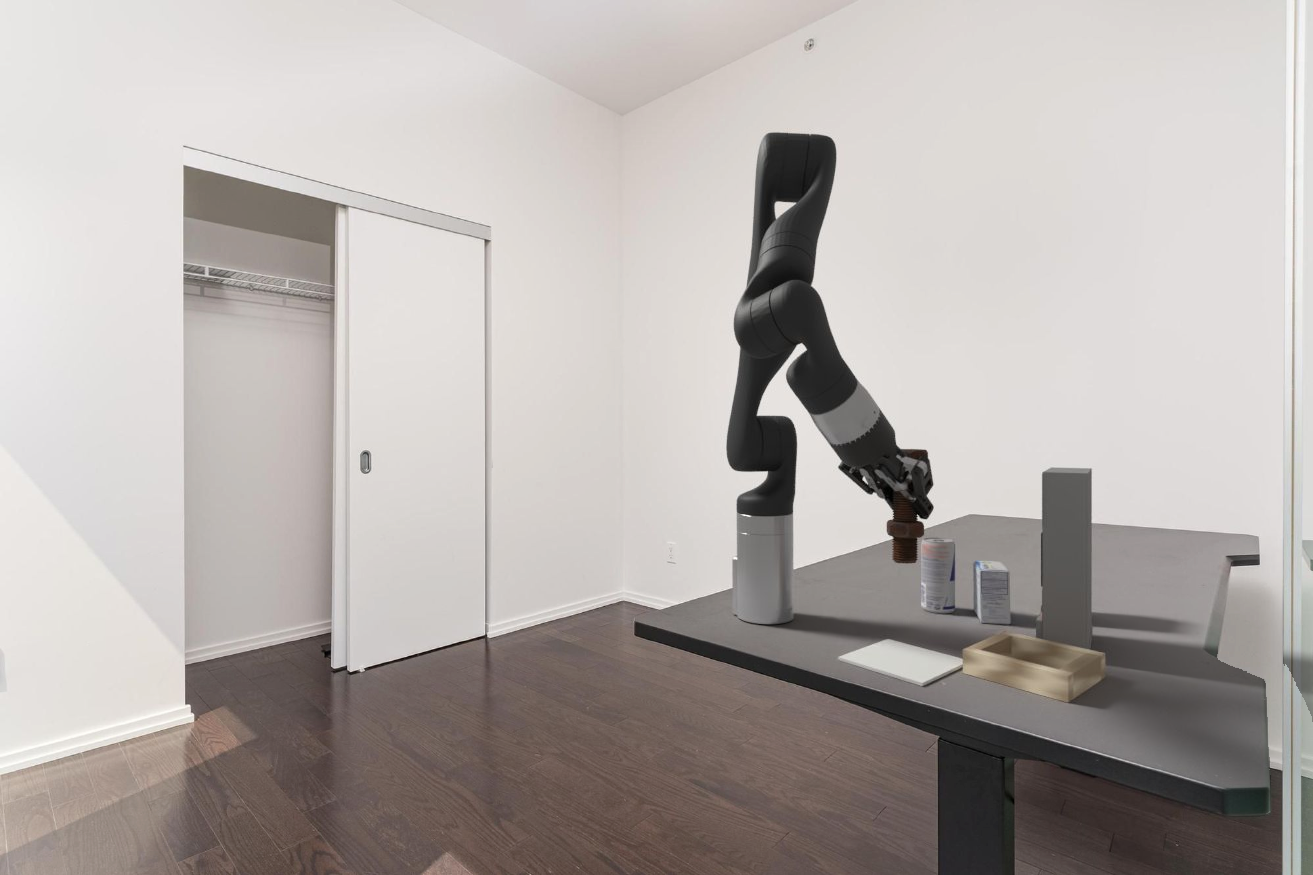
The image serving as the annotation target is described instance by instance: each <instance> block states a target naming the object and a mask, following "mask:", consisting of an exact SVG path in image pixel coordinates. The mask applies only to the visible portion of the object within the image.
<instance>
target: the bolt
mask: <svg viewBox="0 0 1313 875" xmlns="http://www.w3.org/2000/svg"><path fill="white" fill-rule="evenodd" d="M900 449H901V450H903V451H904V452H905V453H906V455H907V457H909V458H912V459H915V460H919V458H920V457H921V456H925V457H927V458H928V459H929V453H928V452H929V451H928V450H927V449H919V448H900ZM898 481H899V480H898ZM912 487H913V486H912V485H911V484H910V483H909V484H908V489H909V490H911V488H912ZM893 492H894V493H893V495H894V496H893V497H894V498H893V500H894V501H892V502H894V503H893V505H894V506H892V507H893V510H894V511H893V510H892V519H889V520H887V521H886V533H887V535H888V536H889V537H892V539H891V540H892V544H891V545H892V549H891V550H892V554H891V555H892V556H891V557H892V561H894V562H895V563H896V564H916V563H917V561H918V558H919V557H918V555H919V554H918V550H919V549H918V545H919V544H918V540H919V539H920V538H923V536H925V525H924V522H923V521H920V520H919V518H918V517H919V516H918V514H917V513H916V511H915V510H914V509H913V507H912V506H911V504H910V503H909V500H907V499H906V497H905V496H904V495H903V494H902V493H901V492H900V491H893Z"/></svg>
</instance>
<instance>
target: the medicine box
mask: <svg viewBox="0 0 1313 875" xmlns="http://www.w3.org/2000/svg"><path fill="white" fill-rule="evenodd" d="M972 568H973V569H972V570H973V575H972V576H973V610H974V612H975V614H976V615H977V618H978V619H979V621H980V623H983V624H990V625H993V624H994V625H1003V626H1004V625H1005V626H1009V625H1010V624H1011V585H1010V584H1011V580H1010V578H1011V575H1010V571H1009V569H1007V567H1006V566H1005V565H1004V564H1003V563H1002V562H1001V561H992V560H991V561H990V560H974V561H973V566H972Z"/></svg>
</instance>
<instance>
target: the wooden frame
mask: <svg viewBox="0 0 1313 875" xmlns="http://www.w3.org/2000/svg"><path fill="white" fill-rule="evenodd" d="M962 659H963V667H962V674H965V675H969V676H973V677H976V678H979V679H983V680H987V681H990V682H993V683H997V684H1001V685H1004V686H1008V687H1011V688H1014V689H1017V690H1018V689H1019V690H1022V691H1026V692H1028V693H1033V694H1035V695H1040V696H1043V697H1047V698H1050V699H1054V700H1057V701H1061V702H1065V703H1067V704H1069V703H1070V702H1072V701H1073V700H1074V699H1076V698H1078V697H1079V696H1080V695H1082V694H1084V692H1086V691H1088V690H1089V689H1091V688H1092V687H1093V686H1095V685H1096V684H1098V683H1099V682H1101V681H1102V680H1104V679H1105V678H1106V653H1105V652H1101V651H1098V650H1093V649H1090V650H1089V649H1084V648H1080V647H1075V646H1071V645H1066V644H1062V643H1057V642H1053V641H1048V640H1043V639H1039V638H1036V637H1034V636H1029V635H1025V634H1020V633H1017V632H1011V631H1007V630H1003V631H1001V632H998V633H997V634H995V635H993V636H990V637H988V638H985V639H984V640H981V641H978V642H976V643H974V644H972V645H970V646H967V647H965V648H963V649H962Z"/></svg>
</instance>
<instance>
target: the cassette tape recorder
mask: <svg viewBox="0 0 1313 875" xmlns="http://www.w3.org/2000/svg"><path fill="white" fill-rule="evenodd" d="M1092 470H1093V469H1092V467H1091V468H1087V467H1082V468H1081V467H1049V468H1048V469H1046V470H1044V471H1042V473H1041V530H1042V532H1041V533H1040V587H1041V606H1040V613H1039V614H1038V616H1037V618H1036V620H1035V621H1036V622H1035V627H1036V628H1035V638H1039V639H1043V640H1048V641H1053V642H1057V643H1062V644H1066V645H1071V646H1075V647H1080V648H1084V649H1089V650H1091V646H1092V642H1093V641H1092V640H1093V631H1094V630H1093V629H1094V628H1093V626H1092V623H1093V622H1092V619H1093V618H1092V616H1093V615H1092V613H1093V612H1092V611H1093V610H1092V606H1093V604H1092V598H1093V597H1092V595H1093V594H1092V592H1093V590H1092V586H1093V584H1092V583H1093V581H1092V579H1093V578H1092V575H1093V574H1092V573H1093V572H1092V566H1093V564H1092V563H1093V562H1092V559H1093V558H1092V557H1093V556H1092V553H1093V552H1092V546H1093V543H1092V541H1093V539H1092V535H1093V534H1092V530H1093V529H1092V527H1093V526H1092V525H1093V524H1092V523H1093V522H1092V518H1093V517H1092V514H1093V513H1092V511H1093V510H1092V507H1093V506H1092V504H1093V503H1092V502H1093V500H1092V498H1093V497H1092V494H1093V492H1092V484H1093V483H1092V481H1093V480H1092V479H1093V477H1092V475H1093V471H1092Z"/></svg>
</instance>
